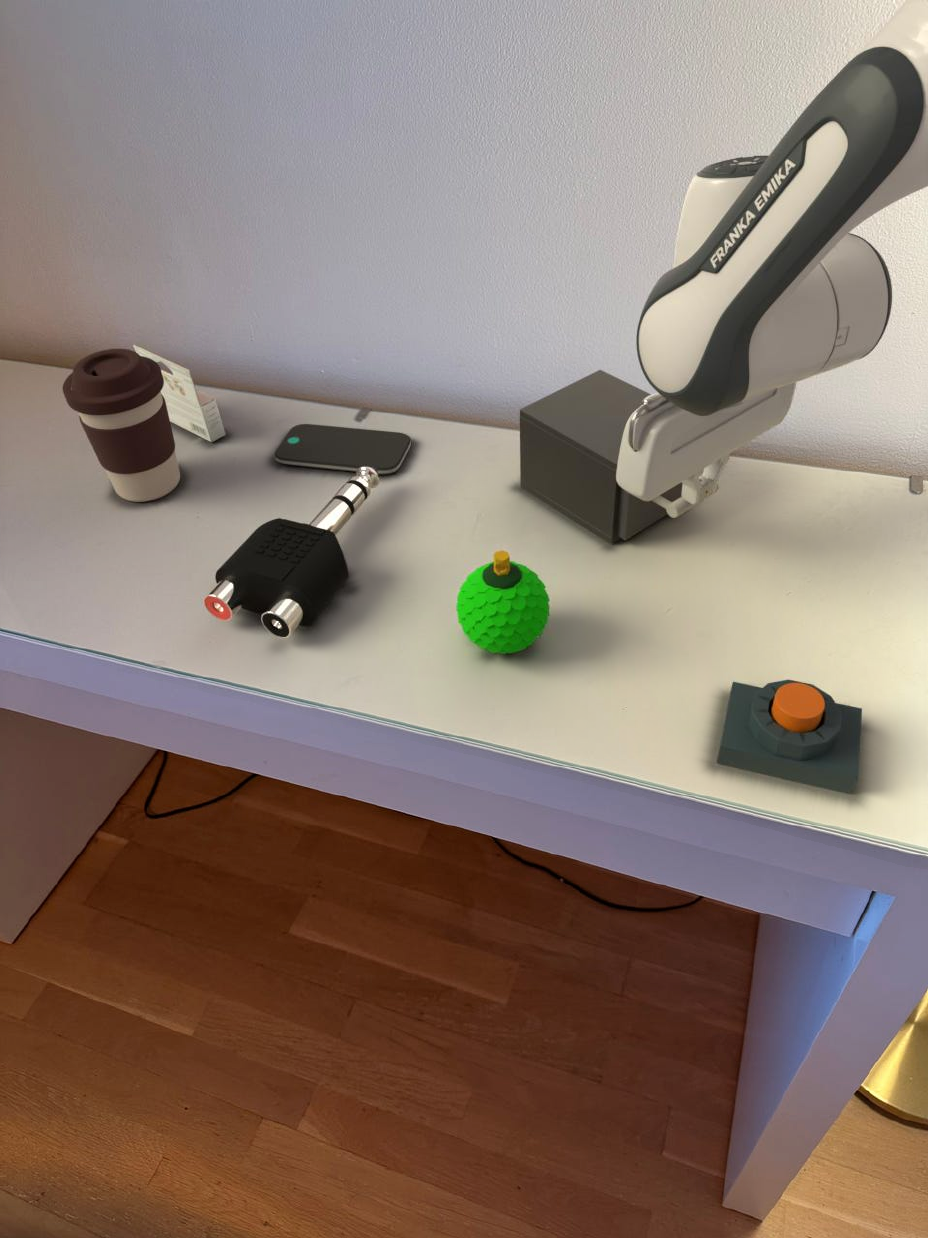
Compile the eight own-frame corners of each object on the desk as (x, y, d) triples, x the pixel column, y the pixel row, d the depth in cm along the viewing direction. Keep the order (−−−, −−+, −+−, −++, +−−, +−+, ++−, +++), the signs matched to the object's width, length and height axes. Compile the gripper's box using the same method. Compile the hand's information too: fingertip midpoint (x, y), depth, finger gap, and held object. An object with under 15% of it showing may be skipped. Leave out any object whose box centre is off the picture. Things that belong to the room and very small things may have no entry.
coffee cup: (200, 457, 108) (165, 337, 98) (184, 508, 101) (144, 384, 91) (116, 462, 108) (71, 343, 98) (94, 513, 101) (43, 391, 91)
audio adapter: (190, 580, 84) (328, 437, 100) (204, 622, 88) (335, 478, 104) (293, 609, 80) (419, 456, 96) (303, 652, 84) (423, 498, 100)
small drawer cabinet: (688, 497, 98) (699, 417, 91) (611, 544, 93) (617, 464, 86) (595, 445, 106) (600, 368, 99) (520, 486, 101) (519, 409, 94)
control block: (855, 726, 75) (867, 692, 72) (851, 794, 70) (863, 762, 67) (728, 699, 77) (736, 666, 75) (716, 763, 73) (723, 730, 70)
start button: (821, 703, 72) (826, 688, 71) (818, 738, 70) (823, 723, 68) (774, 693, 73) (777, 678, 72) (768, 727, 71) (772, 712, 69)
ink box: (170, 407, 117) (148, 335, 110) (226, 435, 111) (207, 361, 105) (154, 415, 116) (131, 343, 109) (210, 444, 110) (189, 370, 103)
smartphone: (294, 421, 111) (414, 432, 108) (295, 428, 111) (414, 439, 108) (269, 457, 106) (395, 470, 102) (270, 463, 106) (395, 476, 103)
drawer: (727, 515, 94) (738, 449, 88) (657, 560, 89) (665, 494, 84) (607, 448, 103) (611, 386, 98) (538, 486, 99) (539, 423, 94)
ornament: (549, 610, 86) (551, 525, 79) (548, 674, 80) (549, 588, 74) (463, 609, 87) (457, 524, 80) (455, 672, 81) (448, 587, 74)
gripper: (662, 420, 72) (648, 558, 82) (820, 334, 81) (791, 467, 91) (603, 392, 76) (596, 527, 85) (760, 312, 85) (738, 442, 94)
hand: (697, 496), depth 88 cm, fingers closed, pressing on drawer
